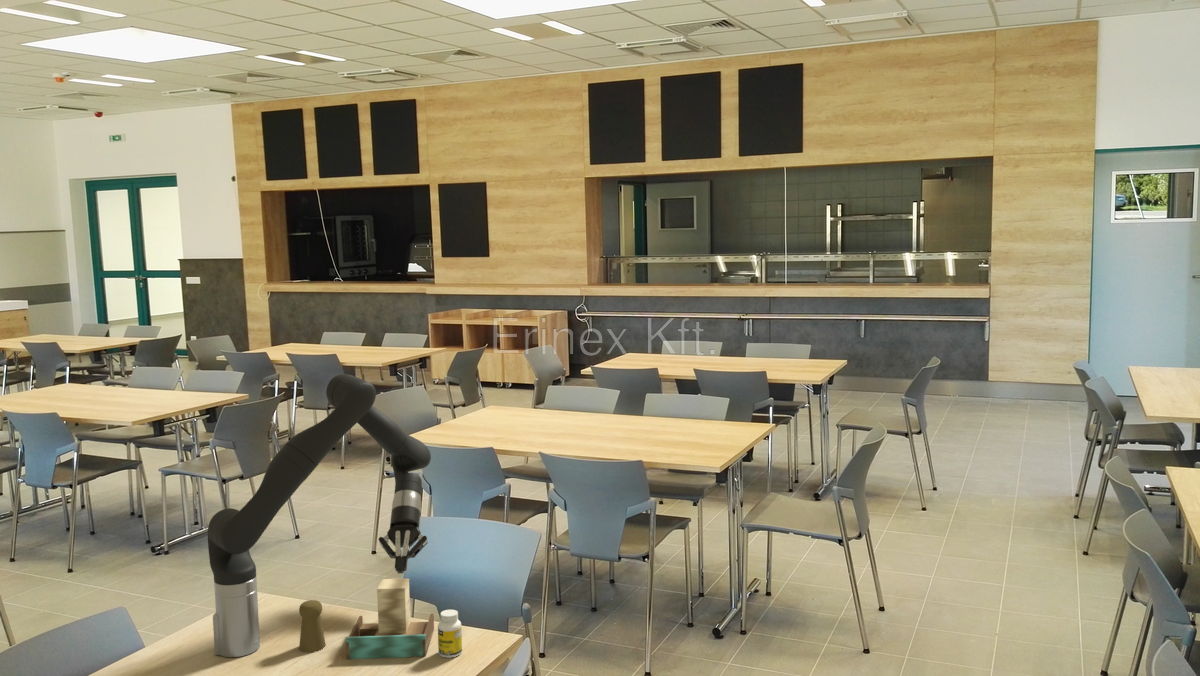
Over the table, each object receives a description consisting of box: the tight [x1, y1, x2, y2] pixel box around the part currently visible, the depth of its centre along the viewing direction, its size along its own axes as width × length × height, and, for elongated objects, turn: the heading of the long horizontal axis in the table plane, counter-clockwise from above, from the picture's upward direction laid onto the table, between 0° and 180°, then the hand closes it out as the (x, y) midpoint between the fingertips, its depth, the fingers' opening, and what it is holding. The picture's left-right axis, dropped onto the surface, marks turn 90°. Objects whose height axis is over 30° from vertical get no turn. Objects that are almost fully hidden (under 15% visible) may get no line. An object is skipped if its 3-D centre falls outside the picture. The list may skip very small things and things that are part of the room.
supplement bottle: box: [437, 609, 463, 659], centre depth 216 cm, size 5×5×10 cm
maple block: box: [376, 578, 411, 634], centre depth 226 cm, size 6×6×11 cm
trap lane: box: [345, 613, 435, 660], centre depth 222 cm, size 18×15×5 cm
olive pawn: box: [298, 599, 327, 653], centre depth 221 cm, size 6×6×11 cm
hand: (400, 572), depth 237 cm, fingers closed
